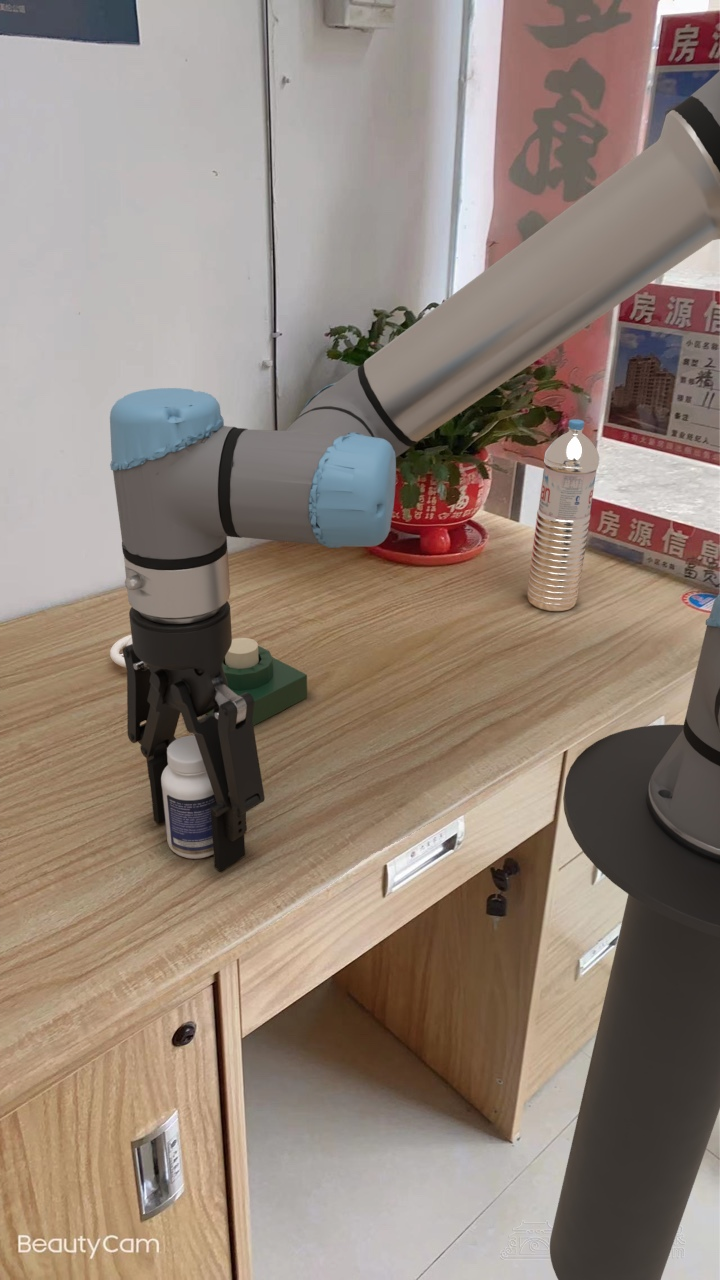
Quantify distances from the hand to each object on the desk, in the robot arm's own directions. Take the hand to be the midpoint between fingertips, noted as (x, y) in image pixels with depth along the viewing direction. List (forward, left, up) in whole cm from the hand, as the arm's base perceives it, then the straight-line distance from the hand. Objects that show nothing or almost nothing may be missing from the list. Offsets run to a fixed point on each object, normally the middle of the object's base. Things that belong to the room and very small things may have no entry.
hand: (198, 837), depth 77 cm
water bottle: (+4, -64, -1) cm, 64 cm away
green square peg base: (+15, -18, 0) cm, 23 cm away
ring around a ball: (+29, -15, -1) cm, 33 cm away
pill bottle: (0, 0, -1) cm, 1 cm away
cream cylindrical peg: (+15, -18, +4) cm, 24 cm away
